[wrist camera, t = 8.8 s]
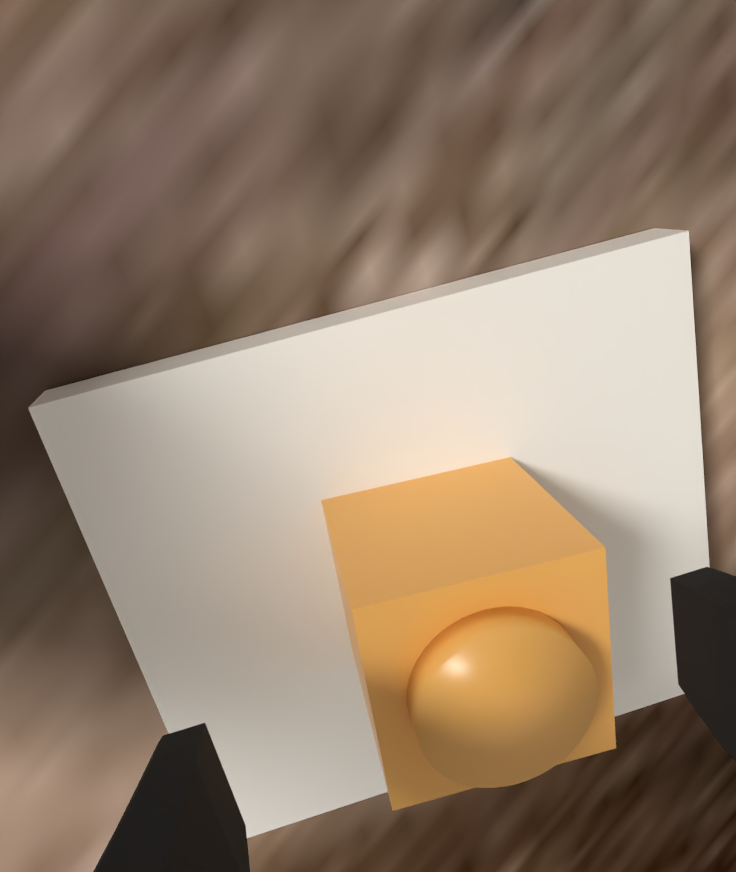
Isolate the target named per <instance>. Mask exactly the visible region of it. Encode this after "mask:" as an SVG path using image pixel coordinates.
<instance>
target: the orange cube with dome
mask: <svg viewBox="0 0 736 872" xmlns="http://www.w3.org/2000/svg"><path fill="white" fill-rule="evenodd" d="M321 502H322V507H323V512H324V517H325V521H326V526H327V531H328V536H329V540H330V545H331V550H332V555H333V559H334V564H335V569H336V574H337V578H338V583H339V588H340V593H341V597H342V602H343V607H344V612H345V616H346V621H347V626H348V631H349V635H350V640H351V645H352V650H353V654H354V659H355V664H356V668H357V672H358V676H359V679H360V683H361V687H362V691H363V695H364V699H365V703H366V707H367V711H368V715H369V719H370V723H371V727H372V731H373V735H374V739H375V743H376V747H377V751H378V755H379V759H380V763H381V767H382V771H383V775H384V779H385V783H386V787H387V791H388V795H389V799H390V803H391V807H392V811H394V810H398V809H401V808H405V807H408V806H412V805H416V804H419V803H423V802H426V801H430V800H433V799H437V798H441V797H444V796H448V795H451V794H455V793H458V792H462V791H465V790H469V789H473V788H476V787H479V788H497V787H506V786H510V785H515V784H519V783H522V782H525V781H527V780H530V779H532V778H534V777H537V776H539V775H541V774H543V773H544V772H546V771H548V770H550V769H551V768H552V767H554V766H555V765H558V764H562V763H565V762H569V761H572V760H576V759H579V758H583V757H587V756H590V755H594V754H597V753H601V752H604V751H608V750H611V749H615V748H616V736H615V717H614V698H613V679H612V660H611V641H610V622H609V603H608V584H607V565H606V548H605V547H604V546H603V545H602V544H601V543H600V542H599V541H598V540H597V539H596V538H595V537H594V536H593V535H592V534H591V533H590V532H589V531H588V530H587V529H586V528H584V527H583V526H582V525H581V524H580V523H579V522H578V521H577V520H576V519H575V518H574V517H573V516H572V515H571V514H570V513H569V512H568V511H567V510H566V509H564V508H563V507H562V506H561V505H560V504H559V503H558V502H557V501H556V500H555V499H554V498H553V497H552V496H551V495H550V494H549V493H548V492H547V491H546V490H544V489H543V488H542V487H541V486H540V485H539V484H538V483H537V482H536V481H535V480H534V479H533V478H532V477H531V476H530V475H529V474H528V473H527V472H526V471H525V470H523V469H522V468H521V467H520V466H519V465H518V464H517V463H516V462H515V461H514V460H513V459H512V458H511V457H508V458H504V459H499V460H495V461H491V462H486V463H482V464H477V465H473V466H469V467H464V468H460V469H456V470H451V471H447V472H442V473H438V474H434V475H429V476H425V477H420V478H416V479H412V480H407V481H403V482H399V483H394V484H390V485H385V486H381V487H377V488H372V489H368V490H363V491H359V492H355V493H350V494H346V495H342V496H337V497H333V498H328V499H324V500H321Z"/></svg>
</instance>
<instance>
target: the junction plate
mask: <svg viewBox="0 0 736 872" xmlns="http://www.w3.org/2000/svg"><path fill="white" fill-rule="evenodd" d="M28 409H29V412H30V414H31V416H32V419H33V421H34V423H35V426H36V428H37V430H38V432H39V435H40V437H41V439H42V442H43V444H44V446H45V449H46V451H47V453H48V456H49V458H50V460H51V463H52V465H53V467H54V469H55V472H56V474H57V476H58V479H59V481H60V483H61V486H62V488H63V490H64V493H65V495H66V497H67V500H68V502H69V504H70V507H71V509H72V511H73V513H74V516H75V518H76V520H77V523H78V525H79V527H80V530H81V532H82V534H83V537H84V539H85V541H86V544H87V546H88V548H89V551H90V553H91V555H92V557H93V560H94V562H95V564H96V567H97V569H98V571H99V574H100V576H101V578H102V581H103V583H104V585H105V588H106V590H107V592H108V595H109V597H110V599H111V601H112V604H113V606H114V608H115V611H116V613H117V615H118V618H119V620H120V622H121V625H122V627H123V629H124V632H125V634H126V636H127V639H128V641H129V643H130V645H131V648H132V650H133V652H134V655H135V657H136V659H137V662H138V664H139V666H140V669H141V671H142V673H143V676H144V678H145V680H146V683H147V685H148V687H149V689H150V692H151V694H152V696H153V699H154V701H155V703H156V706H157V708H158V710H159V713H160V715H161V717H162V720H163V722H164V724H165V726H166V729H167V731H168V733H169V734H170V733H173V732H176V731H179V730H183V729H186V728H189V727H192V726H196V725H199V724H202V723H205V724H206V726H207V729H208V731H209V734H210V736H211V739H212V742H213V744H214V747H215V749H216V752H217V754H218V757H219V759H220V762H221V764H222V767H223V769H224V772H225V775H226V777H227V780H228V782H229V785H230V787H231V790H232V792H233V795H234V797H235V800H236V802H237V805H238V807H239V810H240V813H241V815H242V818H243V820H244V823H245V825H246V835H247V838H249V837H252V836H255V835H258V834H261V833H264V832H267V831H270V830H273V829H276V828H279V827H282V826H285V825H288V824H291V823H295V822H298V821H301V820H304V819H307V818H310V817H313V816H316V815H319V814H322V813H325V812H328V811H331V810H334V809H337V808H340V807H343V806H346V805H349V804H352V803H355V802H358V801H361V800H364V799H367V798H370V797H373V796H376V795H379V794H382V793H385V792H388V791H387V787H386V783H385V779H384V775H383V771H382V767H381V763H380V759H379V755H378V751H377V747H376V743H375V739H374V735H373V731H372V727H371V723H370V719H369V715H368V711H367V707H366V703H365V699H364V695H363V691H362V687H361V683H360V679H359V676H358V672H357V668H356V664H355V659H354V654H353V650H352V645H351V640H350V635H349V631H348V626H347V621H346V616H345V612H344V607H343V602H342V597H341V593H340V588H339V583H338V578H337V574H336V569H335V564H334V559H333V555H332V550H331V545H330V540H329V536H328V531H327V526H326V521H325V517H324V512H323V507H322V502H321V500H324V499H328V498H333V497H337V496H342V495H346V494H350V493H355V492H359V491H363V490H368V489H372V488H377V487H381V486H385V485H390V484H394V483H399V482H403V481H407V480H412V479H416V478H420V477H425V476H429V475H434V474H438V473H442V472H447V471H451V470H456V469H460V468H464V467H469V466H473V465H477V464H482V463H486V462H491V461H495V460H499V459H504V458H508V457H511V458H512V459H513V460H514V461H515V462H516V463H517V464H518V465H519V466H520V467H521V468H522V469H523V470H525V471H526V472H527V473H528V474H529V475H530V476H531V477H532V478H533V479H534V480H535V481H536V482H537V483H538V484H539V485H540V486H541V487H542V488H543V489H544V490H546V491H547V492H548V493H549V494H550V495H551V496H552V497H553V498H554V499H555V500H556V501H557V502H558V503H559V504H560V505H561V506H562V507H563V508H564V509H566V510H567V511H568V512H569V513H570V514H571V515H572V516H573V517H574V518H575V519H576V520H577V521H578V522H579V523H580V524H581V525H582V526H583V527H584V528H586V529H587V530H588V531H589V532H590V533H591V534H592V535H593V536H594V537H595V538H596V539H597V540H598V541H599V542H600V543H601V544H602V545H603V546H604V547H605V548H606V565H607V584H608V603H609V622H610V641H611V660H612V679H613V698H614V717H615V716H619V715H622V714H625V713H628V712H631V711H634V710H637V709H640V708H643V707H646V706H649V705H652V704H655V703H658V702H661V701H664V700H667V699H670V698H673V697H676V696H679V695H682V694H685V693H684V692H683V690H682V689H681V688H680V686H679V685H678V675H677V662H676V649H675V636H674V623H673V610H672V597H671V584H670V578H672V577H676V576H679V575H682V574H685V573H688V572H692V571H695V570H698V569H701V568H705V567H709V568H710V565H709V549H708V533H707V517H706V501H705V485H704V469H703V453H702V437H701V421H700V405H699V389H698V373H697V357H696V341H695V325H694V309H693V293H692V277H691V261H690V245H689V231H685V230H671V229H657V228H653V229H649V230H646V231H642V232H638V233H634V234H631V235H627V236H623V237H619V238H616V239H612V240H608V241H604V242H601V243H597V244H593V245H589V246H586V247H582V248H578V249H574V250H571V251H567V252H563V253H559V254H556V255H552V256H548V257H544V258H541V259H537V260H533V261H529V262H526V263H522V264H518V265H514V266H511V267H507V268H503V269H499V270H496V271H492V272H488V273H484V274H481V275H477V276H473V277H469V278H466V279H462V280H458V281H454V282H451V283H447V284H443V285H439V286H436V287H432V288H428V289H424V290H421V291H417V292H413V293H409V294H406V295H402V296H398V297H394V298H391V299H387V300H383V301H379V302H376V303H372V304H368V305H364V306H361V307H357V308H353V309H349V310H346V311H342V312H338V313H334V314H331V315H327V316H323V317H319V318H316V319H312V320H308V321H304V322H301V323H297V324H293V325H289V326H286V327H282V328H278V329H274V330H271V331H267V332H263V333H259V334H256V335H252V336H248V337H244V338H241V339H237V340H233V341H229V342H226V343H222V344H218V345H214V346H210V347H207V348H203V349H199V350H195V351H192V352H188V353H184V354H180V355H177V356H173V357H169V358H165V359H162V360H158V361H154V362H150V363H147V364H143V365H139V366H135V367H132V368H128V369H124V370H120V371H117V372H113V373H109V374H105V375H102V376H98V377H94V378H90V379H87V380H83V381H79V382H75V383H72V384H68V385H64V386H60V387H57V388H53V389H49V390H45V391H44V392H43V393H42V394H41V395H40V396H39V397H38V398H37V399H36V400H35V401H34V402H33V403H32V404H31V405H30V406H29V407H28Z"/></svg>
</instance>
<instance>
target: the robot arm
mask: <svg viewBox="0 0 736 872" xmlns="http://www.w3.org/2000/svg"><path fill="white" fill-rule="evenodd" d="M670 584H671V597H672V610H673V623H674V636H675V649H676V662H677V675H678V685H679V686H680V688H681V689H682V690H683V692H684V693H685V695H686V696H687V698H688V699H689V701H690V702H691V704H692V705H693V707H694V708H695V709H696V711H697V712H698V714H699V715H700V717H701V718H702V719H703V721H704V722H705V724H706V725H707V726H708V728H709V729H710V730H711V732H712V733H713V734H714V736H715V737H716V739H717V740H718V741H719V743H720V744H721V745H722V746H723V747H724V749H725V750H726V751H727V752H728V753H729V754H730V755H731V757H732V758H733V759H734V760H735V761H736V577H735V576H733V575H730V574H727V573H724V572H721V571H718V570H715V569H712V568H709V567H705V568H701V569H698V570H695V571H692V572H688V573H685V574H682V575H679V576H676V577H672V578H670ZM94 872H250V867H249V856H248V846H247V835H246V825H245V823H244V820H243V818H242V815H241V813H240V810H239V807H238V805H237V802H236V800H235V797H234V795H233V792H232V790H231V787H230V785H229V782H228V780H227V777H226V775H225V772H224V769H223V767H222V764H221V762H220V759H219V757H218V754H217V752H216V749H215V747H214V744H213V742H212V739H211V736H210V734H209V731H208V729H207V726H206V724H205V723H202V724H199V725H196V726H192V727H189V728H186V729H183V730H179V731H176V732H173V733H170V734H167V735H163V736H162V738H161V740H160V741H159V743H158V745H157V747H156V749H155V751H154V753H153V755H152V757H151V759H150V761H149V763H148V765H147V767H146V769H145V771H144V773H143V775H142V777H141V780H140V782H139V784H138V786H137V788H136V790H135V792H134V794H133V796H132V798H131V800H130V802H129V804H128V806H127V808H126V810H125V812H124V814H123V816H122V818H121V820H120V822H119V824H118V826H117V828H116V830H115V832H114V834H113V836H112V838H111V839H110V841H109V843H108V845H107V847H106V849H105V851H104V853H103V855H102V856H101V858H100V860H99V862H98V864H97V866H96V868H95V870H94Z"/></svg>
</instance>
